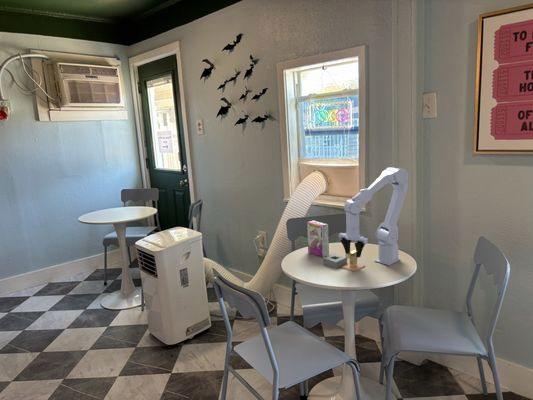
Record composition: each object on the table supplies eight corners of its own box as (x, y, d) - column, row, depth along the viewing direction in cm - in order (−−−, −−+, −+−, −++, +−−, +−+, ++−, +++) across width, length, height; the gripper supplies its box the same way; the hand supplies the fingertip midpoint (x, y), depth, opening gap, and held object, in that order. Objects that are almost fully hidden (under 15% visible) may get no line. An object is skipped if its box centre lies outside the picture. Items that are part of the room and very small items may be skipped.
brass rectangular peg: (356, 263, 181) (356, 248, 179) (360, 264, 179) (360, 250, 178) (345, 268, 176) (345, 253, 174) (350, 269, 174) (349, 254, 173)
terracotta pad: (352, 263, 183) (352, 262, 183) (365, 266, 177) (365, 265, 177) (341, 267, 178) (341, 266, 178) (354, 271, 172) (354, 270, 172)
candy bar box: (307, 252, 201) (306, 221, 197) (314, 250, 203) (313, 220, 200) (322, 258, 192) (321, 226, 188) (329, 255, 194) (328, 224, 191)
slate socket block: (334, 259, 189) (333, 253, 188) (347, 263, 183) (347, 257, 182) (323, 264, 184) (322, 258, 183) (336, 268, 178) (336, 262, 177)
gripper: (334, 225, 177) (335, 254, 179) (360, 231, 166) (361, 261, 168) (344, 222, 181) (344, 250, 184) (370, 227, 170) (370, 257, 173)
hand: (353, 255), depth 176 cm, fingers open, 5 cm apart
